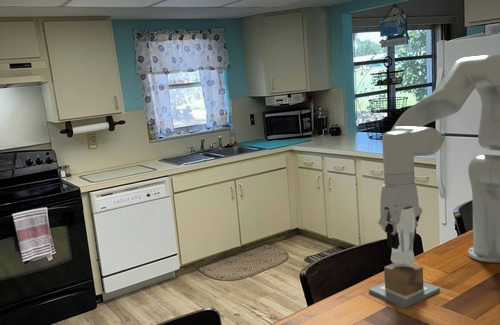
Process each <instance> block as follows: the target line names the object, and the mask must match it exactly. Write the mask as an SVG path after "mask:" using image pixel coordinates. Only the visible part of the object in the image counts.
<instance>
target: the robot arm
mask: <svg viewBox="0 0 500 325" xmlns="http://www.w3.org/2000/svg"><path fill="white" fill-rule="evenodd" d="M474 90H476V91H477V93H478V95H479V96H480V100H481V110H480V112H481V113H480V119H479V125H478V127H479V128H478V135H477V136H478V138H477V139H478V140H477V141H478V144H479V146H480V147H481V148H483V149H485V150H487V151H488V150H490V151H496V152H497V151H500V54H482V55H475V56H465V57H462V58H460V59H457V60H455V61H454V63H452V65H451V66H450V68H449V69H448V71H447V72H446V73H445V75H444V76H443V78H442V79H441V80H440V82H439V83H438V84H437V86H436V87H435V89H434V90H433V91H432V92H431V93H430V94H428V95H427V96H426V97H424V98H422V99H421V100H420V101H418V102H416V103H415V104H413V105H411V107H409V108H407V110H405V111H404V112H403V113H402V114H401V115H400V116H399V117H398V119H397V120H396V122H395V123H394V124H393V126H392V128H391V129H390V131H387V132H384V133H383V134H382V136H381V138H382V139H381V140H382V160H383V182H384V183H383V184H382V187H381V192H380V193H381V194H380V203H379V204H380V208H379V209H380V210H379V211H380V218H379V220H378V222H377V224H378V226H380V228H381V229H382V230H383V231H384V233H386V242H387V243H386V244H387V247H388V248H391V249H392V248H394V249H398V234H396V230H397V224H398V223H399V222H400V216H401V210H402V209H409V208H411V207H412V206H414V214H415V233H414V239H413V243H416V242H417V239H418V238H417V227H418V225H419V224H418V223H419V220H420V218H421V215H422V214H423V208H421V207H420V206H419V195H418V189H417V185H416V181H415V157H428V156H432V155H434V154H437V153H438V152H439V150H440V149H441V148H442V146H443V141H444V140H443V136H442V134H441V132H440V131H438V130H437V129H436V128H433V127H431V126H430V127H429V126H428V127H427V126H426V125H428V124H431V123H432V122H436V121H439V120H442V119H445V118H448V117H450V116H452V115H455V114H456V113H458V112H459V111H460V110H461V109H462V107H463V106H464V104H465V103H466V101H467V100H468V98H469V97H470V95H471V94H472V93H473V91H474ZM467 168H468V169H467V172H468V178H469V182H470V186H471V187H470V188H471V193H472V234H473V235H472V238H473V241H472V242H473V243H472V245H473V246H471V247H470V248H468V250H467V254H468V256H469V257H470V258H472V259H474V260H476V261H479V262H483V263H492V264H493V263H496V264H499V263H500V154H499V155H498V154H481V155H480V154H479V155H477V156H475V157H473V158H472V159H471V160H470V162H469V164H468V167H467ZM389 216H390V218H391V219H392V222H391V221H389ZM390 224H393V227H392V228H391V227H390Z"/></svg>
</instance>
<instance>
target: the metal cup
mask: <svg viewBox="0 0 500 325" xmlns="http://www.w3.org/2000/svg"><path fill="white" fill-rule="evenodd" d="M389 221H391V222H392V219H391V218H390V216H389ZM390 227H391V228H392V227H393V224H390ZM415 228H416V227H415V214H414V206H412V207H411V208H409V209H402V210H401V216H400V222H399V223H398V224H397V230H396V234H398V249H394V248H391V256H390V261H391V262H392V264H393V263H396V264H402V265H406V264H411V263H412V264H414V262H416V257H415V254H414V249H413V248H414V242H413V239H414V233H415Z"/></svg>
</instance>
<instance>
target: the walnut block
mask: <svg viewBox="0 0 500 325" xmlns="http://www.w3.org/2000/svg"><path fill="white" fill-rule="evenodd" d="M383 271H384V272H383V273H384V283H385V288H387V289H390V290H392V291H394V292H397V293H399V294H402V295H404V296H407V295H410V294H412V293H414V292H416V291H418V290H421V289H423V282H424V267H423V266H421V265H418V264H414V263H411V264H406V265H402V264H396V263H393V262H392V263H390V264H388V265H386V266H384V267H383Z"/></svg>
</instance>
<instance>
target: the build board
mask: <svg viewBox="0 0 500 325" xmlns="http://www.w3.org/2000/svg"><path fill="white" fill-rule="evenodd" d="M440 292H441V288H440V287H439V286H436V285H433V284H431V283H427V282H425V281H423V289H421V290H418V291H416V292H414V293H412V294H410V295H407V296H404V295H402V294H399V293H397V292H394V291H392V290H390V289H387V288H385V282H383V283H380V284H378V285H375V286H373V287H371V288H369V289H368V293H369V294H372V295H374V296H376V297H378V298H380V299H382V300H384V301H388V302H390V303H391V304H393V305H396V306H398V307H400V308H402V309H406V308H407V307H410V306H412V305H414V304H417V303H418V302H420V301H422V300H424V299H427V298H429V297H431V296H433V295H435V294H438V293H440Z"/></svg>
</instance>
